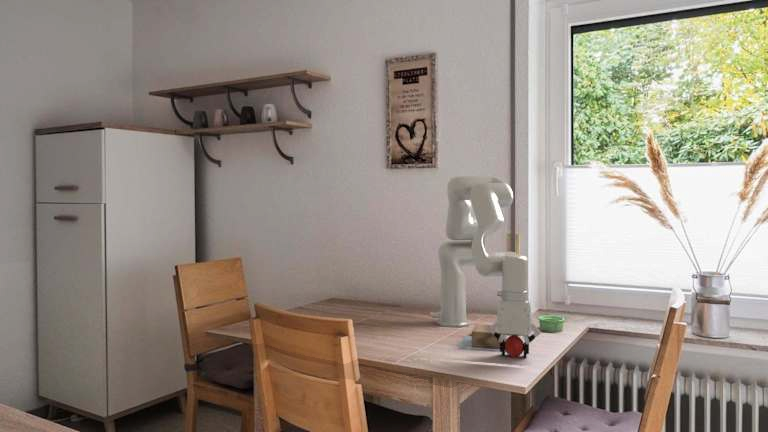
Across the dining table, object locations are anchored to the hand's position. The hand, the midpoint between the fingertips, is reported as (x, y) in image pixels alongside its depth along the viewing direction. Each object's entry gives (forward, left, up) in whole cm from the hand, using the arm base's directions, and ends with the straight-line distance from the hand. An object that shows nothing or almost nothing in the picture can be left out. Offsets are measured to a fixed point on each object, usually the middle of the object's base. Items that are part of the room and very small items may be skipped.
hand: (514, 354), depth 175 cm
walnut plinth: (-9, +12, 0) cm, 15 cm away
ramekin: (+10, +41, -2) cm, 42 cm away
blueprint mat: (-9, +12, -1) cm, 15 cm away
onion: (0, 0, -1) cm, 1 cm away
